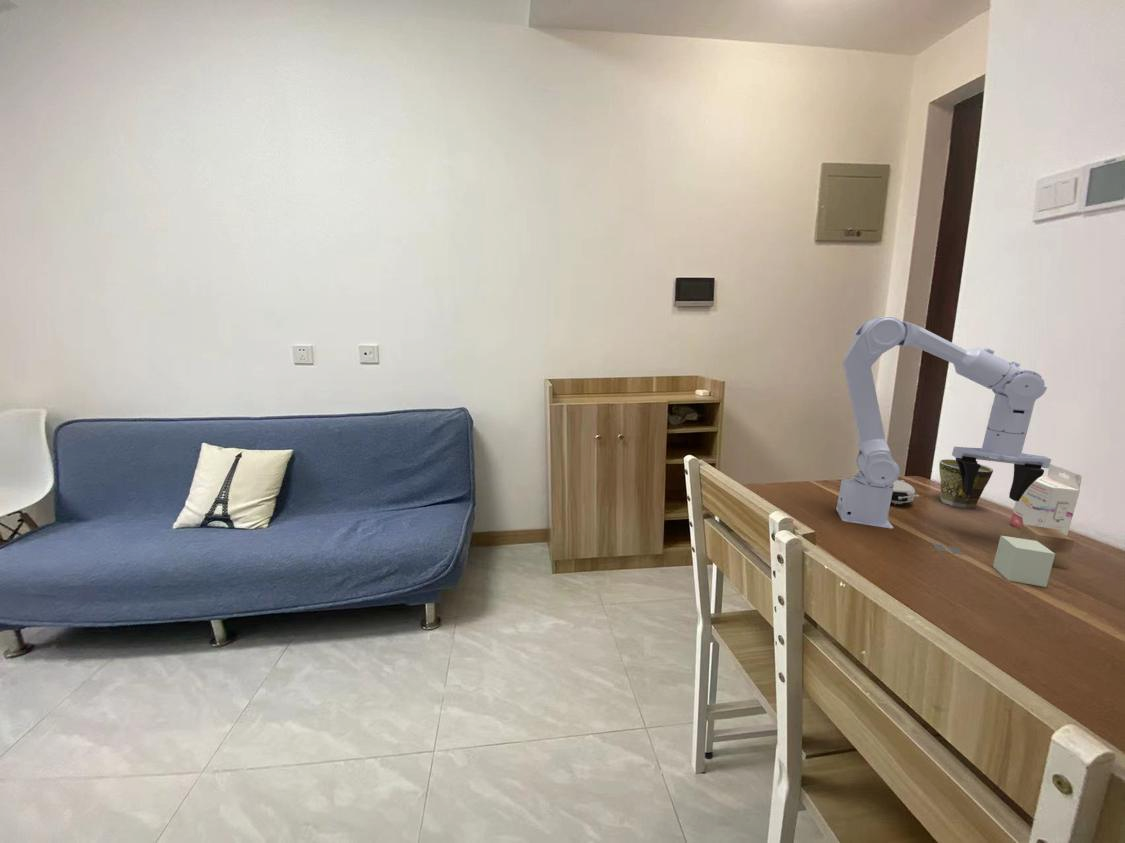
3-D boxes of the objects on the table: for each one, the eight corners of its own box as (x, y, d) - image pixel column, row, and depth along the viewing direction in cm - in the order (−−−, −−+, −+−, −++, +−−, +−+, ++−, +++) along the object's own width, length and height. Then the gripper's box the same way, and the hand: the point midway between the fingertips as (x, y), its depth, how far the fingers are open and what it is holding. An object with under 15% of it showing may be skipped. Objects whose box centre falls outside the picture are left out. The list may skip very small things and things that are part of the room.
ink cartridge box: (1007, 524, 103) (1023, 460, 100) (1033, 526, 102) (1050, 463, 99) (1038, 541, 95) (1056, 472, 92) (1066, 544, 94) (1086, 475, 91)
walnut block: (1029, 565, 84) (1037, 534, 83) (1014, 552, 89) (1022, 524, 88) (1065, 570, 83) (1073, 540, 81) (1048, 558, 87) (1056, 528, 86)
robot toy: (846, 504, 114) (920, 511, 108) (847, 487, 113) (922, 493, 107) (838, 489, 125) (905, 494, 119) (839, 473, 124) (907, 477, 118)
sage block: (1007, 580, 78) (1016, 547, 76) (992, 566, 82) (1000, 535, 81) (1046, 587, 76) (1055, 553, 75) (1028, 572, 81) (1036, 540, 79)
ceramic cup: (930, 493, 121) (938, 456, 119) (980, 502, 116) (989, 464, 113) (933, 508, 111) (942, 468, 109) (988, 519, 105) (999, 477, 103)
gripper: (969, 430, 89) (953, 496, 91) (1068, 440, 84) (1048, 509, 86) (954, 423, 95) (940, 485, 98) (1045, 432, 90) (1027, 497, 93)
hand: (989, 496), depth 93 cm, fingers open, 7 cm apart
